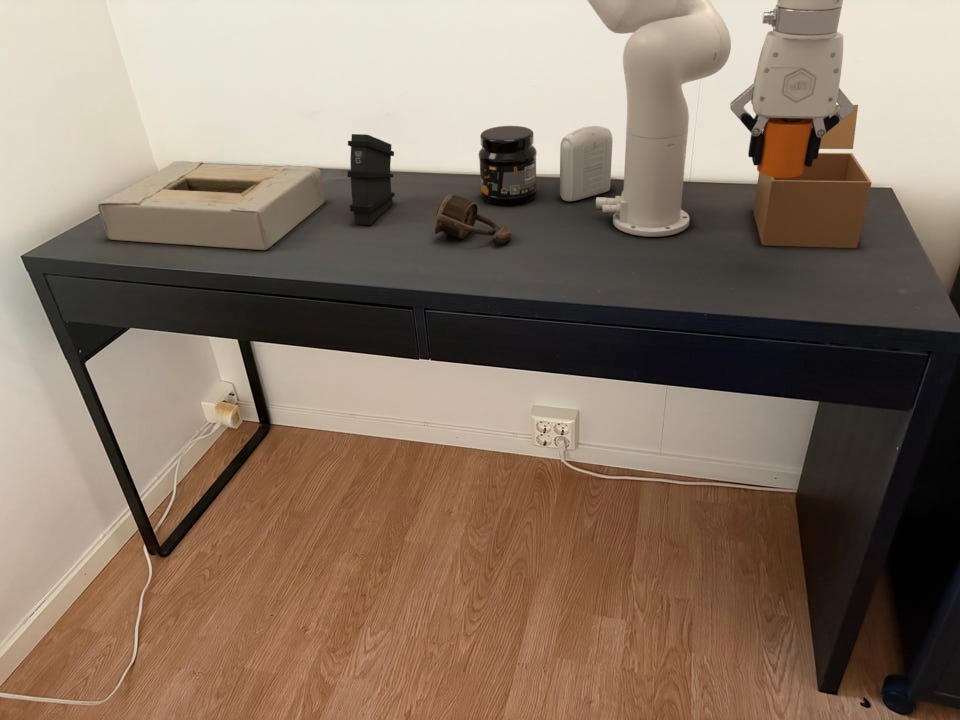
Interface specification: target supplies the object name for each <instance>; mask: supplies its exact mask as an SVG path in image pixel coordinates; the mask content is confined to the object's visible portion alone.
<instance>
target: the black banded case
mask: <svg viewBox="0 0 960 720" xmlns="http://www.w3.org/2000/svg"><path fill="white" fill-rule="evenodd" d="M347 146H348V147H350V156H349V157H350V170H347V174H346V175H347V178H350V188H351V189H350V190H351V191H350V192H351V201H352V202H351V204H350V205H349V211H350V212H352V213H353V217H354V224H355V225H357V226H372V224H374V223H375V221H376V220H378V219H379V218H380V217H381V216H382V215H383V214H384V213H385V212H386V211H387V210H388V209H390V207H391V206H393V198H394V197H395V196H396V194H395V192H394V191H392V182H391V181H392V179H391V178H394V173H391V162H392V160H391V159H392V157H395V151H393V150H392V144H391V143H390V142H387V141H384V140H382V139H379V138H377V137H374V136H372V135H370V134H366V133H365V134H364V133H363V134H362V133H361V134H360V133H352V134H351V139H350V140H347Z"/></svg>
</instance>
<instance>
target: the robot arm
mask: <svg viewBox="0 0 960 720" xmlns="http://www.w3.org/2000/svg"><path fill="white" fill-rule="evenodd" d="M587 2H588V3H589V5H590V6H591V8H592V9H593V11H594V12H595V13H596V15H597V16H598V18H599V19H600V21H601V22H602V23H603V25H604V26H605V27H606V28H607V29H608V30H609V31H611V32H612V33H614V34H619V35H620V34H622V35H623V34H631V35H630V36H629V37H628V39H627V41H626V43H625V44H624V47H623V48H624V49H623V53H622V67H623V74H624V81H625V89H626V126H625V152H624V155H625V156H624V171H623V173H624V174H623V190H622V191H621V195H615V197H601V196H597V197H596V199H595V209H598V210H599V209H600V210H601V213H602V214H610V213H612V225H613V226H614V227H615V228H616V229H618V230H619V231H620V232H623V233H626V234H629V235H632V236H638V237H646V238H660V237H668V236H672V235H677V234H680V233H681V232H683V231H685V230H686V229H687V228H688V227H689V225H690V215H689V214H688V212H686V211H685V210H683V209H682V199H683V189H684V180H685V179H684V178H685V169H686V168H685V167H686V159H687V158H686V157H687V146H688V134H689V121H690V117H689V116H690V115H689V106H688V103H687V100H686V97H685V95H684V92H683V86H682V85H684V84H686V83H690V82H694V81H698V80H701V79H705V78H707V77H711V76H712V75H715V74H716V73H718V72H719V71H721V70H722V69H723V67H725V65H726V64H727V62H728V60H729V57H730V54H731V48H732V41H731V35H730V32H729V29H728V27H727V24H726V23H725V20H724V18H723V17H722V16H721V15H720V13H719V12H718V11H717V9H716V8H715V6H714V4H713V3H712V2H711V1H710V0H587ZM843 3H844V0H777V2H776V5H775V8H773V10H770V11H763V14H762V19H761V20H762V21H761V23H762V24H765V25H766V24H767V25H768V26H771V27H772V30H770V31H768V32H767V34H766V36H765V37H764V40H763V44H762V47H761V51H760V55H759V58H758V62H757V67H756V71H755V75H754V78H753V79H754V80H753V83H752V84H750V85H749V86H748V87H747V88H746V89H744V91H743V92H741V93H740V94H739V95H738V96H737V97H736V98H734V99H733V100H732V101H731V102H730V103H729V109H730V110H731V112H732V113H733V114H734V115H735V116H736V118H738V119H739V120H740V122H741V123H742V124H743V126H744V127H746V129H747V130H748V131H749V132H750V133H751V134H750V140H749V146H748V153H747V154H748V155H747V156H748V158H751V161H752V164H753V166H757V165H759V164H760V159H761V153H762V147H763V141H764V136H763V128H764V127H765V125H766V123H767V121H768V120H769V118H811V119H812V121H813V123H812V127H813V128H811V134H810V139H809V144H808V149H807V154H806V159H805V166H807V167H811V166H812V162H813V159H817V157H818V153H820V149H819V148H820V143H821V138H822V137H824V136H825V134H826V133H827V132H828V131H829V130H830V129H832V128H833V127H834V126H836V125H837V124H838V123H839V121H841V120H843V119H844V118H845V117H846V116H848V115H849V114H850V113H852V112H853V111H854V109H855V107H854V106H853V105H854V103H852V102H851V100H850V99H849V98H848V97H847V96H846V94H845V93H844V92H843V91H842V89H841V88H840V82H841V76H842V68H843V58H844V57H843V56H844V34H843V33H841V32H839V31H838V27H839V23H840V18H841V14H842V13H841V12H842V9H843ZM750 101H751V102H750ZM749 102H750V103H751V106H752V110H753V112H754V114H755V115H754V117H753V116H752V115H751V114H750V113H749V112H748V111H747V109H746V108H745V106H746V105H747V104H748V103H749ZM836 105H839V107H838V109H836V110H835V107H836ZM834 110H835V111H834ZM823 118H824V119H823Z"/></svg>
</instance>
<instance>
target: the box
mask: <svg viewBox="0 0 960 720" xmlns="http://www.w3.org/2000/svg"><path fill="white" fill-rule="evenodd" d="M325 200H326V194H325V185H324V180H323V175H322V171H321V169H320V168H319V167H316V166H311V165H310V166H309V165H303V166H301V165H300V166H299V165H298V166H295V165H290V164H288V165H284V166H271V165H270V166H269V165H248V164H247V165H245V164H224V163H204V162H203V161H188V160H177V161H173V162H171V163H170V164H168V165H167V166H165V167H163V168H162V169H160V170H158V171H156V172H154V173H153V174H151V175H149V176H147V177H145V178H143V179H142V180H140V181H138V182H136V183H134V184H132V185H131V186H129V187H127V188H125V189H122V190H121V191H119V192H117V193H116V194H114V195H111V196H110V197H108V198H105V199H103V200H101V201H99V203H98V206H97V209H98V213H99V216H100V219H101V222H102V225H103V227H104V231H105V233H106V236H107V238H108V239H109V240H111V241H112V240H113V241H121V242H122V241H123V242H138V243H139V242H140V243H154V244H169V245H184V246H197V247H209V248H210V247H211V248H225V249H226V248H227V249H239V250H240V249H242V250H256V251H267V250H268V249H269V248H271V247H272V246H273V245H274V244H276V243H277V242H278V241H280V240H281V239H282V238H283V237H285V236H286V235H287V234H288V233H289V232H290V231H292V230H293V229H294V228H295V227H297V226H298V225H300V223H301V222H303V221H304V220H305V219H307V217H309V216H311V214H312V213H314V212H315V211H317V210H318V209H319V208H320V207H321V206H322V205H324V204H325Z"/></svg>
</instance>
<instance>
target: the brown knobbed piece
mask: <svg viewBox="0 0 960 720" xmlns="http://www.w3.org/2000/svg"><path fill="white" fill-rule="evenodd" d="M478 210H479V207H478V204H477V203H476V202H474V201H472V200H469V199H467V198H465V197H463V196H460V195H457V194H455V193H450V194H448V195H447V196H445V198H443V199H442V201H441V203H440V204H439V207H438V209H437V211H436V220H435V225H434V229H433V232H432V233H433V234H434V235H437V234H439V233H442V232H444V233H446V234H449V235H450V236H453V237H456V238H458V239H461V240H463V239H465V238H466V237H467V236H469V234H470V233H473V234H477V235H482V236H491V237H492V239H493V241H494V242H495V243H496V244H499V245H501V244H505V243H506V242H508V241H509V240H510V239H511V237H512V231H511V229H510V228H509V227H508V226H506V225H502V226H500V227H499V225H498V224H497V223H496V222H494V221H493V220H491V219H490V218H488V217H486V216H484V215H482V214H479V213H478V212H479V211H478ZM476 221H478V222H481V223H483V224H485V225H488V226H489V227H490V228H491V229H490V228H489V229H488V228H480V227H476V226H474V225H475V223H476Z"/></svg>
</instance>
